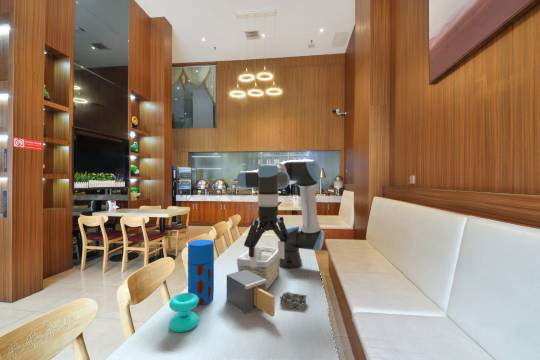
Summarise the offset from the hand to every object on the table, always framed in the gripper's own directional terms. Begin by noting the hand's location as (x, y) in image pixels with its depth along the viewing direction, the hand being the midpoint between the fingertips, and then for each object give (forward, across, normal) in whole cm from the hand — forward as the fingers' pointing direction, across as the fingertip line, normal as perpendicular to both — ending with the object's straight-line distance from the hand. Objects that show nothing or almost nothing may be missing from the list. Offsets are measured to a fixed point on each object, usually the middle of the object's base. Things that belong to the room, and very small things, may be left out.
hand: (267, 261), depth 95 cm
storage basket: (+22, -19, -30) cm, 41 cm away
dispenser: (+21, 0, -15) cm, 26 cm away
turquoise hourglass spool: (+22, +26, -16) cm, 37 cm away
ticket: (+19, 0, -8) cm, 21 cm away
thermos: (+22, +13, -30) cm, 39 cm away
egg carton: (+22, -15, -2) cm, 27 cm away
